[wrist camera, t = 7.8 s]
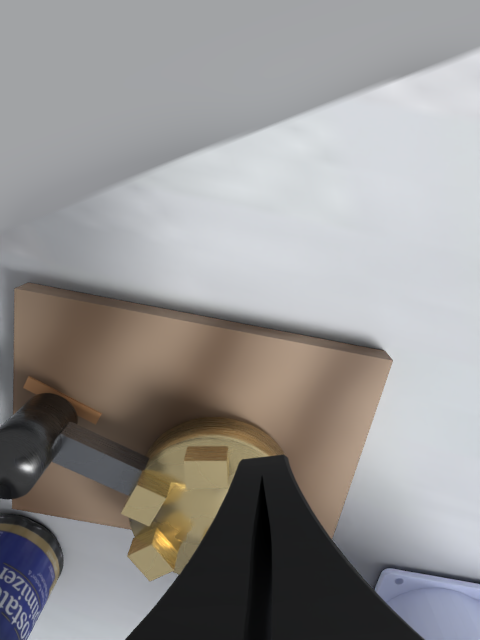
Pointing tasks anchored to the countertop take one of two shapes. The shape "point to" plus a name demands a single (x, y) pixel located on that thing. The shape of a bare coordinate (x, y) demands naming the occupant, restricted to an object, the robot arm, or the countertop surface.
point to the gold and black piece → (136, 473)
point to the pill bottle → (25, 574)
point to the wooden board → (190, 391)
